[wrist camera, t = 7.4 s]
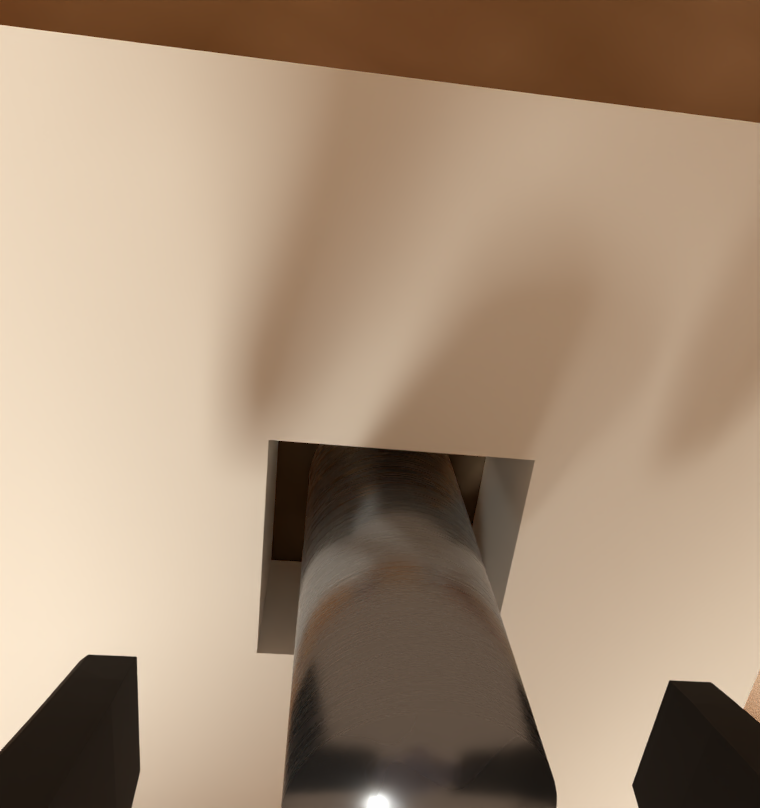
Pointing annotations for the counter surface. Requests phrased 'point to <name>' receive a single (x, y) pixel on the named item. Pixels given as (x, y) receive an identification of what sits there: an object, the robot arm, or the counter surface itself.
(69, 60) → the hole block
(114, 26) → the counter surface
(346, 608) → the tall pin
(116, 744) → the robot arm
